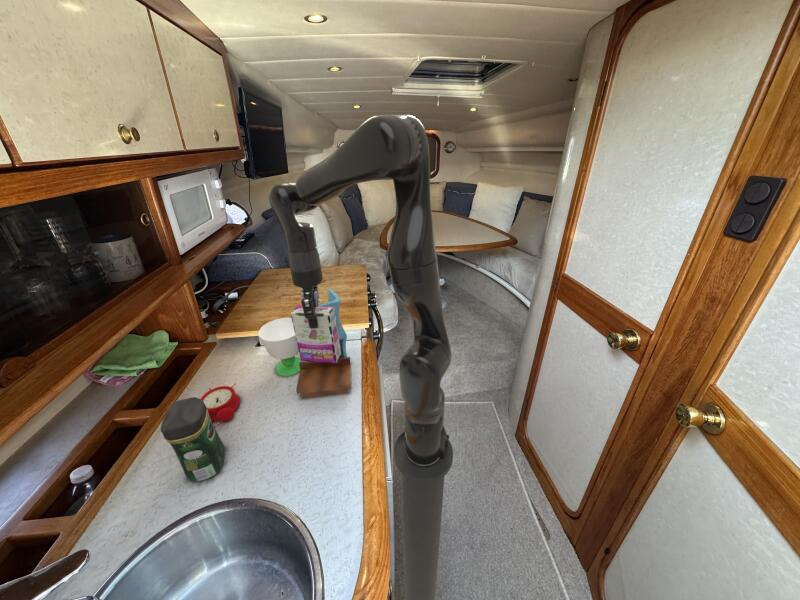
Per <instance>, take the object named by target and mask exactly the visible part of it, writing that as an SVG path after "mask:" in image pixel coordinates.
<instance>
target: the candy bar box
mask: <svg viewBox="0 0 800 600" xmlns="http://www.w3.org/2000/svg"><path fill="white" fill-rule="evenodd" d="M316 313H317V315H316V316H317V322H318V328H313V329H311V328H310V327H309V322H308V318H307V319H305V315H304V311H303V307H302V305H296V306H295V308H294V309H293V310H292V311H291V312H290V318H292V323H293V327H294V331H295V336H296V340H297V345H298V349H299V353H298V354H299V359H300V360H301V361H302V362H308V361H309V362H325V363H337V361H338V359H339V358H341V356H340V355H341V348H340V341H339V335H338V328H337V321H336V314H335V308H334V307H326V306H317V307H316Z"/></svg>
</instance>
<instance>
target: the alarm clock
mask: <svg viewBox="0 0 800 600" xmlns="http://www.w3.org/2000/svg"><path fill="white" fill-rule="evenodd" d="M236 385H237V383H235V382H234V384H233V385H232V386H229V385H221V386H216V387H214V388H212V389H211V387H209V388H208V391H207V392H205V393H204V394H203V395H202V396H201V398H200V399H201V400H202V401H203V402H204V404H205V405H206V407H207V410H208V413H209V416H210V419H211V421H212V422H215V421H219V423H218V424H216V425H214V427H215V428H216V427H219V426H220V425H221V424H222V423H223V422H228V421H230V420H231V419H232V418H233V417H234V415H235V412H236V410H237V409H238V408H239V407H240V404H241V398H240V395H238V394H237V393H236V390H235V389H234V387H235V386H236Z"/></svg>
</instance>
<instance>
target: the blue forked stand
mask: <svg viewBox="0 0 800 600" xmlns="http://www.w3.org/2000/svg"><path fill="white" fill-rule="evenodd" d="M340 305H341V298H340V296H339V295H338V294H337V293H336V292H335V291H334V290H333V289H332V288H330V289H328V302H324V303H321V304H319V306H326V307H334V308H335V314H336V321H337V328H338V335H339V341H340V348H341V355H340V358H347V357H348V355H347V351H346V350H347V349H346V347H347V346H346V345H347V340H348V339H347V338H348V336H347V332H346V330H345V329H344V326H343V323H342V322H341V318H340V307H341V306H340Z"/></svg>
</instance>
